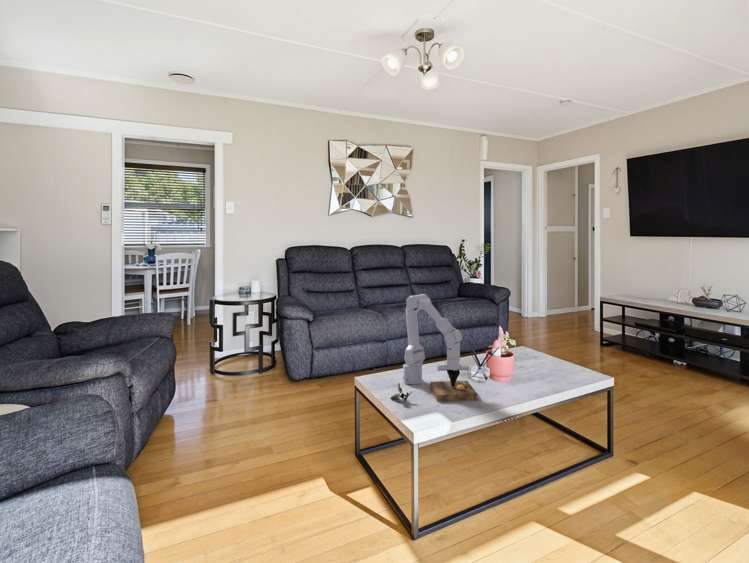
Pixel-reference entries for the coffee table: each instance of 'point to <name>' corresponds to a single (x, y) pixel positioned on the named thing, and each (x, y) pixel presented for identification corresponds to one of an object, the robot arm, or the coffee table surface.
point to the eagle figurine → (401, 394)
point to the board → (452, 391)
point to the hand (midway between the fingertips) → (452, 385)
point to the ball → (460, 387)
